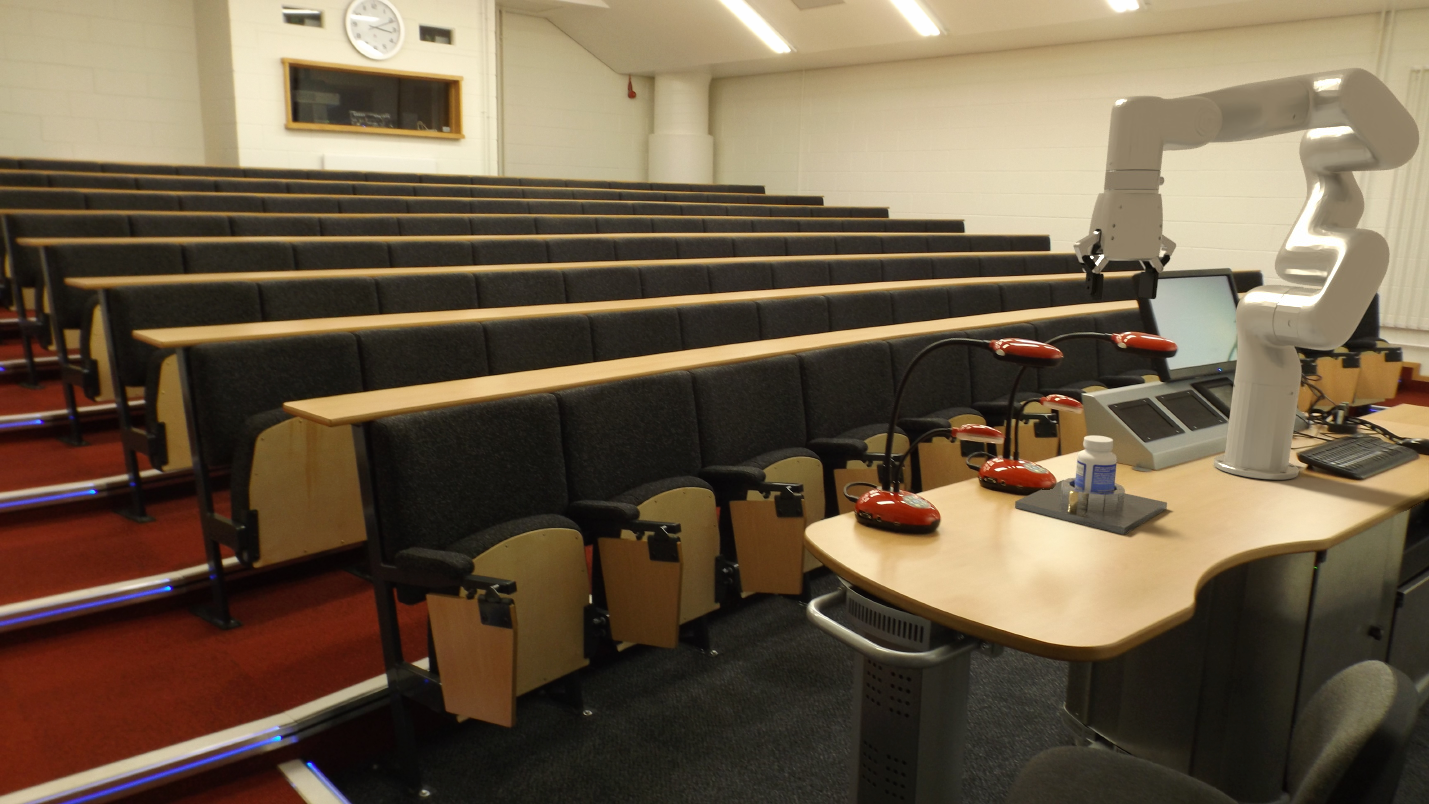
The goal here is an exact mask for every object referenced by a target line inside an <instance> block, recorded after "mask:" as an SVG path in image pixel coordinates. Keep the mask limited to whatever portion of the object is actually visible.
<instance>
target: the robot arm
mask: <svg viewBox="0 0 1429 804" xmlns="http://www.w3.org/2000/svg"><path fill="white" fill-rule="evenodd" d="M1109 121H1110V122H1109V134H1108V142H1107V144H1108V145H1107V154H1106V164H1105V165H1106V166H1105V175H1104V185H1103V192H1101V193H1100V192H1099V193H1098V195H1097V198H1096V201H1095V204H1094V206H1093V210H1092V213H1091V220H1090V226H1089V230H1088V235H1086V236H1085V237H1083V238H1080V239H1079V240H1078V241H1076V242H1075V243H1073V249H1074V253H1075V255H1076V257H1077V258H1076V261H1077V263H1078V264H1080V266H1081V267H1082V271H1083V272H1084V273H1085V282H1084V298H1085V300H1093V301H1101V300H1102V299H1103V291H1104V277H1105V275H1104V273H1101V272H1102V270H1103V269H1104V268H1105V267H1106V265H1108V263H1109V261H1118V262H1119V261H1120V262H1121V261H1126V262H1127V261H1128V262H1131V261H1138V262H1139V263H1140V265H1141V266H1142V268H1143V270H1144V271H1141V272H1140V275H1139V286H1138V297H1139V298H1140V299H1141V298H1142V299H1148V300H1155V299H1157V293H1158V283H1159V275H1160V274H1161V273H1162V272H1164V269H1165V266H1166V265H1168V263H1169V262H1170V261H1171V257H1172V255H1173V253H1174V252H1175V249H1176V248H1177V243H1176V242H1175V241H1174V240H1171V239H1170V238H1169V237H1167V236H1166V235H1164V234H1163V227H1164V222H1163V221H1164V219H1163V218H1164V214H1163V211H1164V210H1163V199H1162V198H1163V196H1162V193H1159V191H1160V186H1163V185H1164V184H1165V178H1164V176H1161V173H1162V163H1163V153H1164V152H1166V151H1183V150H1184V151H1186V150H1195V149H1197V148H1201V147H1202V148H1203V147H1204V146H1206V145H1208V144H1212V143H1218V144H1219V143H1233V142H1234V143H1235V142H1243V141H1252V140H1257V139H1263V138H1267V137H1273V136H1279V135H1285V134H1291V133H1295V132H1300V131H1301V132H1302V131H1304V133H1303V134H1302V137H1301V140H1300V142H1299V148H1298V149H1299V151H1298V153H1299V158H1300V159H1299V160H1300V163H1301V166H1302V168H1303V171H1304V177H1305V181H1306V182H1305V183H1306V197H1305V201H1304V203H1303V206H1302V207H1301V209H1300V211H1299V213H1298V215H1297V217H1296V219H1295V221H1294V222H1293V224H1292V226H1291V227H1290V229H1289V231H1288V233H1287V235H1286V237H1285V239H1284V240H1283V242H1282V244H1281V246H1280V249H1279V250H1278V252H1277V255H1276V257H1275V259H1274V270H1275V272H1276V274H1277V277H1279V278H1281V279H1282V280H1283V281H1285V282H1288V283H1291V284H1295V285H1302V286H1295V285H1284V284H1283V285H1282V284H1266V285H1265V284H1264V285H1258V286H1256V287H1253V288H1252V289H1249V290H1248V291H1246V292H1245V293H1244V294H1243V295H1242V296H1241V298H1240V299H1239V302H1238V303H1237V307H1236V310H1235V327H1236V337H1237V352H1236V353H1237V354H1236V365H1235V373H1234V380H1233V387H1232V397H1231V405H1230V412H1229V420H1228V428H1227V435H1226V436H1227V437H1226V442H1225V444H1226V445H1225V451H1224V454H1220V455H1217V456H1215V457H1214V459H1213V466H1214V467H1215V468H1216V469H1219V470H1220V471H1223V472H1225V473H1229V474H1232V475H1236V476H1241V477H1245V478H1250V479H1251V478H1252V479H1258V480H1259V479H1261V480H1270V481H1271V480H1273V481H1274V480H1275V481H1276V480H1277V481H1279V480H1280V481H1281V480H1282V481H1283V480H1290V479H1295V478H1297V477H1298V476H1299V472H1300V471H1299V468H1298V467H1297V466H1296V465H1295V464H1293V463H1291V462H1290V456H1291V451H1292V443H1293V435H1294V429H1295V428H1294V427H1295V422H1296V415H1297V408H1298V403H1299V394H1300V387H1301V383H1302V382H1301V381H1302V363H1301V360H1300V357H1299V354H1298V353H1297V352H1298V351H1297V349H1296V348H1303V349H1308V350H1310V349H1311V350H1317V351H1331V350H1335V349H1337V348H1340V347H1342V346H1343V345H1344V344H1346V342H1347V341H1348V340H1349V339H1350V338H1351V337H1352V336H1353V334H1354V332H1355V331H1356V329H1357V327H1358V326H1359V324H1360V323H1361V321H1362V319H1363V318H1364V315H1365V314H1366V312H1367V310H1368V308H1369V306H1370V305H1371V302H1372V301H1373V299H1374V297H1375V295H1376V293H1378V290H1379V288H1380V286H1381V285H1382V283H1383V281H1384V279H1385V277H1386V274H1387V272H1388V268H1389V263H1390V247H1389V243H1388V242H1387V240H1386V238H1385V237H1384V236H1383V235H1382V234H1380V233H1379V232H1378V231H1374V230H1371V229H1368V228H1357V227H1358V225H1359V224H1360V223H1359V222H1360V221H1361V220H1362V217H1363V214H1364V211H1365V198H1364V195H1363V193H1362V190H1361V188H1360V186H1359V184H1358V183H1357V181H1356V178H1355V175H1354V173H1353V172H1372V171H1373V172H1374V171H1380V172H1381V171H1389V170H1394V169H1399V168H1400V167H1402V166H1404V165H1405V164H1407V163H1408V162H1409V161H1410V160H1412V159H1413V157H1414V156H1415V155H1416V152H1417V150H1418V148H1419V145H1420V131H1419V127H1418V125H1417V123H1416V121H1415V119H1414V117H1413V116H1412V115H1411V113H1410V112H1409V111H1408V110H1407V108H1406V107H1405V106H1404V105H1403V104H1402V102H1401V101H1400V100H1399V99H1398V98H1397V96H1395V94H1394V93H1393V92H1392V91H1391V90H1390V88H1389V87H1388V86H1387V85H1386V84H1385V83H1384V82H1383V81H1382V80H1381V79H1380V78H1379V77H1378V76H1376V75H1375V74H1373V73H1372V72H1371V71H1368V70H1367V69H1364V68H1361V67H1350V68H1342V69H1336V70H1334V69H1333V70H1327V71H1321V72H1313V73H1305V74H1300V75H1298V74H1297V75H1293V76H1292V75H1291V76H1287V77H1280V78H1274V79H1268V80H1267V79H1266V80H1261V81H1255V82H1249V83H1248V82H1247V83H1243V84H1237V85H1232V86H1228V87H1223V88H1219V89H1216V90H1212V91H1208V92H1207V91H1206V92H1201V93H1197V94H1191V95H1187V96H1181V97H1180V96H1179V97H1173V98H1163V97H1160V96H1155V95H1137V96H1135V95H1134V96H1133V95H1132V96H1127V97H1121V98H1119V99H1117V100H1116V101H1114V103H1113V105H1112V107H1111V113H1110V120H1109ZM1303 286H1309V287H1303ZM1312 287H1322V288H1312ZM1295 347H1296V348H1295Z"/></svg>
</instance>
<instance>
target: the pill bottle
mask: <svg viewBox="0 0 1429 804" xmlns="http://www.w3.org/2000/svg"><path fill="white" fill-rule="evenodd" d="M1082 446H1083V448H1084V449H1083V450H1081V451H1079V452H1078V454H1077V458H1076V459H1077V460H1076V469H1075V478H1076V480H1075V488H1076V489H1080V490H1084V491H1089V492H1099V493H1105V492H1113V491H1114V487H1115V483H1116V473H1117V472H1116V471H1117V464H1118V463H1117V462H1118V458H1117V455H1116V454H1115V453H1114V452H1112V450H1113V449H1114V448H1113V447H1114V439H1113V438H1112V437H1107V436H1103V435H1086V436H1084V437H1083V442H1082Z"/></svg>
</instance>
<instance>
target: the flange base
mask: <svg viewBox="0 0 1429 804" xmlns="http://www.w3.org/2000/svg"><path fill="white" fill-rule="evenodd" d="M1075 480H1076V477H1070V478H1066V479H1061V480H1060V481H1057V482H1055V483H1056V486H1055V487H1054V488H1053V489H1050V490H1042V489H1040V490H1038V491H1036V492H1033V493H1031V494H1029V495H1026V496H1025V497H1022V498H1020V499H1017V500H1016V501H1015V502H1014V509H1019V510H1023V511H1027V512H1030V513H1034V514H1039V515H1042V516H1045V517H1046V516H1047V517H1051V518H1055V519H1059V520H1063V521H1066V522H1069V523H1070V522H1071V523H1074V524H1079V525H1083V526H1087V527H1091V528H1094V529H1099V530H1103V531H1107V532H1111V533H1115V534H1120V535H1123V536H1124V535H1126V534H1128V533H1130V532H1131V531H1133V530H1134V529H1137V528H1138V527H1139V526H1141V525H1142V524H1144V523H1146V522H1148V521H1149V520H1150V519H1152V518H1154V517H1156V516H1157V515H1159V514H1161V513H1162V512H1164V511H1165V510H1167V507H1168V502H1167V501H1162V500H1156V499H1153V498H1147V497H1143V496H1140V495H1139V496H1138V495H1135V494H1129V493H1126V489H1125V488H1124V486H1123V485H1121V484H1118V483H1117V482H1115V487H1114V491H1113V492H1105V493H1099V492H1089V491H1084V490H1080V489H1076V488H1075Z"/></svg>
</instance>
